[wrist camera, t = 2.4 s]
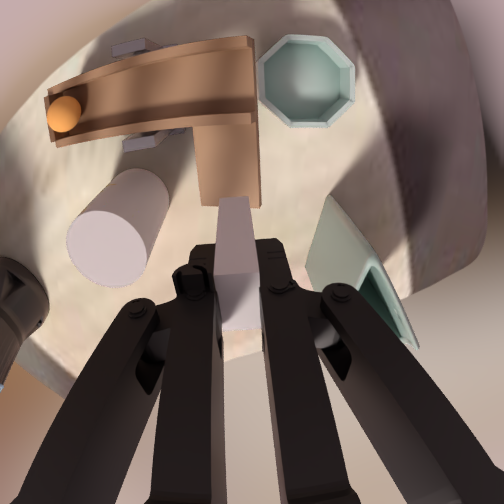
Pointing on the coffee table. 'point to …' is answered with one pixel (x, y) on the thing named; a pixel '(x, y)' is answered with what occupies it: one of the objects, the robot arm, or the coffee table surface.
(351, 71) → the bowl
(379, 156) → the coffee table surface
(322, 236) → the planter
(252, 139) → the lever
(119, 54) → the fulcrum
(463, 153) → the coffee table surface
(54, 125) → the ball
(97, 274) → the pale pink cylinder
